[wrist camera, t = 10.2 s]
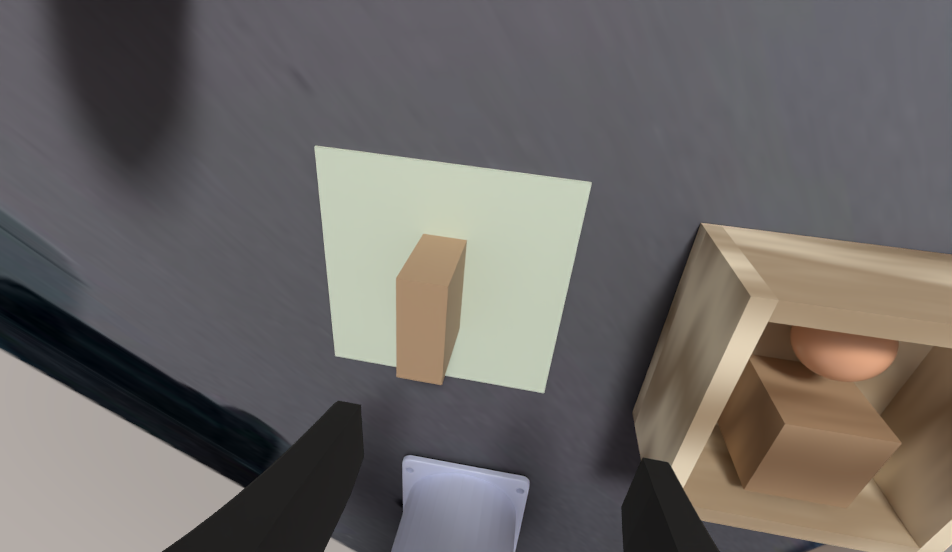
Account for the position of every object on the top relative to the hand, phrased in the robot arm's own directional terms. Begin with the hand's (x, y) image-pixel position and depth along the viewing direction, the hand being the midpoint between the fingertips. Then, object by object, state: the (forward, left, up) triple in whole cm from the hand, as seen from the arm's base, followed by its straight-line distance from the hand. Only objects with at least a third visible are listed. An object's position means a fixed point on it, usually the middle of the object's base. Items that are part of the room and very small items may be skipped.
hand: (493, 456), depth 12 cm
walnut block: (-4, -12, -10) cm, 16 cm away
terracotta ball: (0, -12, -10) cm, 16 cm away
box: (-2, -12, -10) cm, 16 cm away
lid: (-2, +4, -11) cm, 12 cm away
